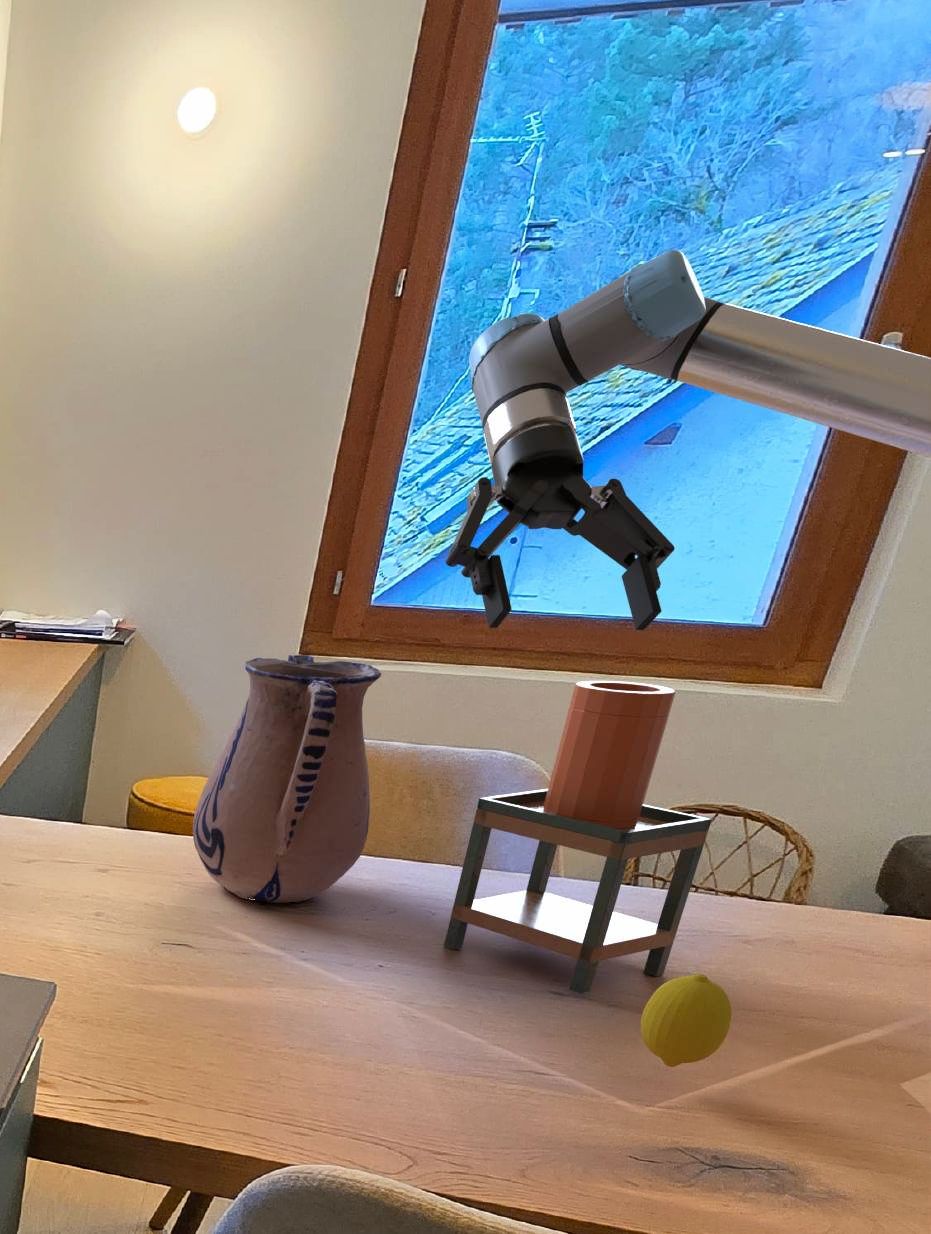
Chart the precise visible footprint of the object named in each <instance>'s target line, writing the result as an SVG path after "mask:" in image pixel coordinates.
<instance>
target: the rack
mask: <svg viewBox="0 0 931 1234" xmlns="http://www.w3.org/2000/svg"><path fill="white" fill-rule="evenodd" d="M547 791H548V788H545V789H537V790H530V791H522V792H516V793H515V792H514V793H508V794H500V795H492V796H486V797H479V798H478V802H477V805H476V811H475V815H474V818H473V823H472V827H471V832H470V836H469V840H468V844H467V848H466V853H465V856H464V859H463V865H462V869H461V873H460V877H459V880H458V886H457V889H456V893H455V897H454V902H453V906H452V910H451V913H450V918H449V922H448V927H447V931H446V935H445V940H444V943H443V947H444V948H448V949H450V950H453V951H455V950H459V949H460V950H461V949H462V948H463V946H464V942H465V938H466V933H467V930H468V925H472V926H475V927H478V928H482V929H485V930H487V931H491V932H494V933H497V934H500V935H503V936H507V937H509V938H513V939H515V940H519V941H520V942H521V941H522V942H525V943H528V944H530V945H533V946H537V947H539V948H543V949H546V950H549V951H553V952H555V953H559V954H562V955H566V956H568V957H571V958H574V959H577V960H576V965H575V967H574V971H573V975H572V979H571V981H570V985H569V989H568V990H570V991H572V992H575V993H578V994H581V995H582V994H586V993H590V992H591V989H592V985H593V982H594V978H595V975H596V971H597V968H598V965H599V962H600V961H606V960H609V959H614V958H620V957H622V956H623V957H624V956H627V955H633V954H636V953H641V952H642V953H643V952H646V951H649V952H648V955H647V959H646V961H645V965H644V969H643V974H646V975H650V976H652V977H659V976H663V975H664V974H665V970H666V967H667V964H668V961H669V958H670V954H671V951H672V948H673V946H674V942H675V938H676V935H677V932H678V929H679V927H680V922H681V920H682V916H683V913H684V910H685V907H686V903H687V900H688V897H689V894H690V891H691V887H692V885H693V881H694V878H695V875H696V871H697V868H698V865H699V861H700V859H701V856H702V852H703V849H704V845H705V843H706V839H707V837H708V833H709V830H710V827H711V824H712V822H713V819H712V818H709V817H704V816H700V815H694V814H690V813H685V812H680V811H675V810H671V809H666V808H662V807H657V806H651V805H648V804H643V806H642V810H641V813H640V816H639V818H638V821H637V824H636V825H635V826H634V827H630V828H620V829H617V828H612V827H608V826H604V825H599V824H595V823H591V822H586V821H582V820H578V819H573V818H569V817H565V816H560V815H556V814H552V813H547V812H543V809H544V807H543V806H544V802H545V798H546V795H547ZM492 830H498V831H501V832H505V833H509V834H513V835H517V836H521V837H525V838H528V839H533V840H536V841H538V845H537V848H536V852H535V856H534V859H533V863H532V868H531V871H530V874H529V875H530V876H529V879H528V882H527V887H526V890H521V891H515V892H510V893H504V894H500V895H494V896H487V897H483V898H476V893H477V889H478V884H479V881H480V877H481V873H482V868H483V865H484V861H485V856H486V853H487V849H488V844H489V840H490V836H491V833H492ZM558 846H561V847H565V848H568V849H571V850H572V849H573V850H577V851H581V852H585V853H589V854H593V855H597V856H601V857H604V858H606V859H605V862H604V866H603V869H602V873H601V876H600V880H599V882H598V883H599V884H598V887H597V889H596V894H595V898H594V901H593V905H591V904H587V903H585V902H581V901H577V900H574V899H571V898H567V897H563V896H561V895H556V894H554V893H549V892H546V890H547V886H548V882H549V879H550V875H551V871H552V867H553V864H554V860H555V856H556V853H557V848H558ZM675 851H679V854H678V856H677V861H676V864H675V867H674V870H673V874H672V877H671V880H670V883H669V887H668V889H667V893H666V895H665V900H664V902H663V906H662V909H661V913H660V916H659V918H658V923H655V922H651V921H649V920H648V921H647V920H644V919H641V918H638V917H634V916H631V915H627V914H623V913H620V912H616V911H614V910H615V906H616V903H617V900H618V896H619V893H620V889H621V887H622V882H623V879H624V875H625V873H626V870H627V866H628V862H629V859H636V858H640V857H641V858H642V857H646V856H647V857H648V856H654V855H657V854H659V855H660V854H665V853H670V852H675ZM475 898H476V899H475Z"/></svg>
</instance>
